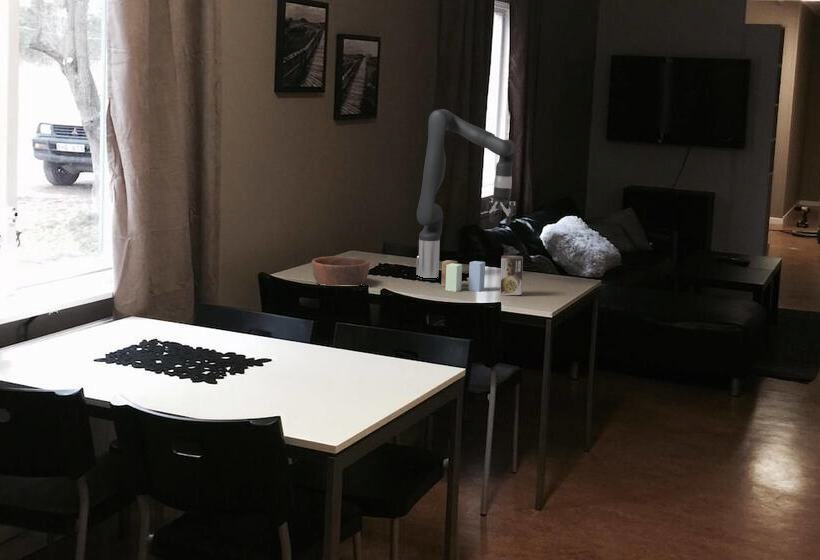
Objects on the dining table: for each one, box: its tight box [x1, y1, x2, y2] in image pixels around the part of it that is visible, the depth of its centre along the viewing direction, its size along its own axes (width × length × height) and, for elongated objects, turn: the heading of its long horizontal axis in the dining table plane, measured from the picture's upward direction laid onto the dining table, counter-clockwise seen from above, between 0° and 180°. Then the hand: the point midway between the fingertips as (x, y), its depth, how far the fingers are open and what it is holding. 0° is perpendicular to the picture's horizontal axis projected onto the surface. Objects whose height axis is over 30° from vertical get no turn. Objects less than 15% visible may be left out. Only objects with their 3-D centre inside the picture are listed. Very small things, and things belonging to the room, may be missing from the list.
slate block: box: [468, 260, 486, 292], centre depth 467 cm, size 5×5×12 cm
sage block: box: [444, 263, 463, 293], centre depth 466 cm, size 5×5×11 cm
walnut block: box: [440, 259, 459, 288], centre depth 473 cm, size 5×5×11 cm
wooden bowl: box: [311, 255, 371, 286], centre depth 473 cm, size 25×25×10 cm
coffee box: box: [499, 255, 524, 295], centre depth 459 cm, size 9×6×16 cm
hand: (499, 223), depth 476 cm, fingers open, 8 cm apart
